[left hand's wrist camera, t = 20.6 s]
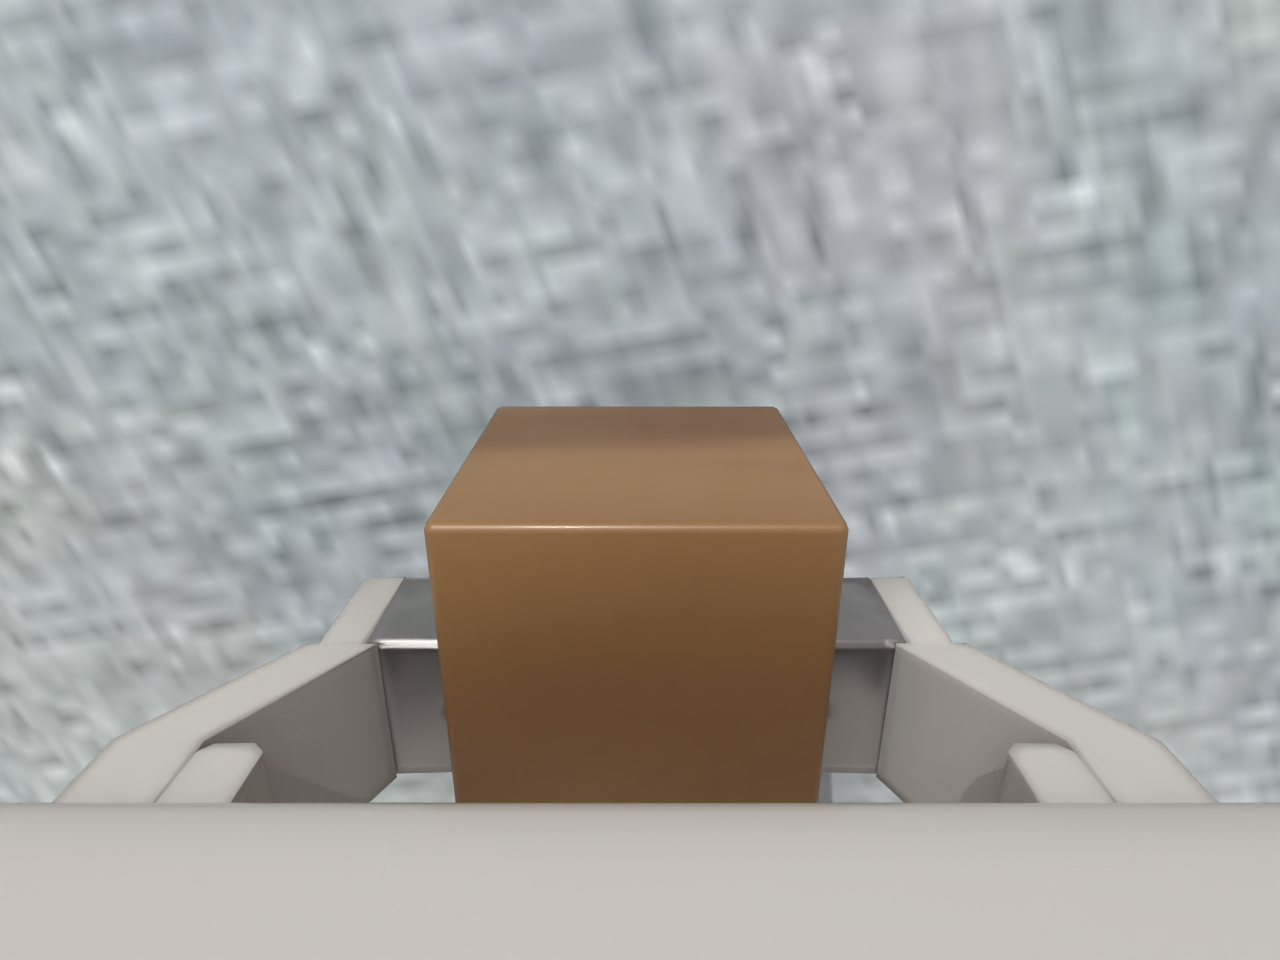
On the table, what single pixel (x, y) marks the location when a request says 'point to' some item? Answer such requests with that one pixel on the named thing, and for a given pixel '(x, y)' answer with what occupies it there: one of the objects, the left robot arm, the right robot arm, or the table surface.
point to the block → (636, 608)
